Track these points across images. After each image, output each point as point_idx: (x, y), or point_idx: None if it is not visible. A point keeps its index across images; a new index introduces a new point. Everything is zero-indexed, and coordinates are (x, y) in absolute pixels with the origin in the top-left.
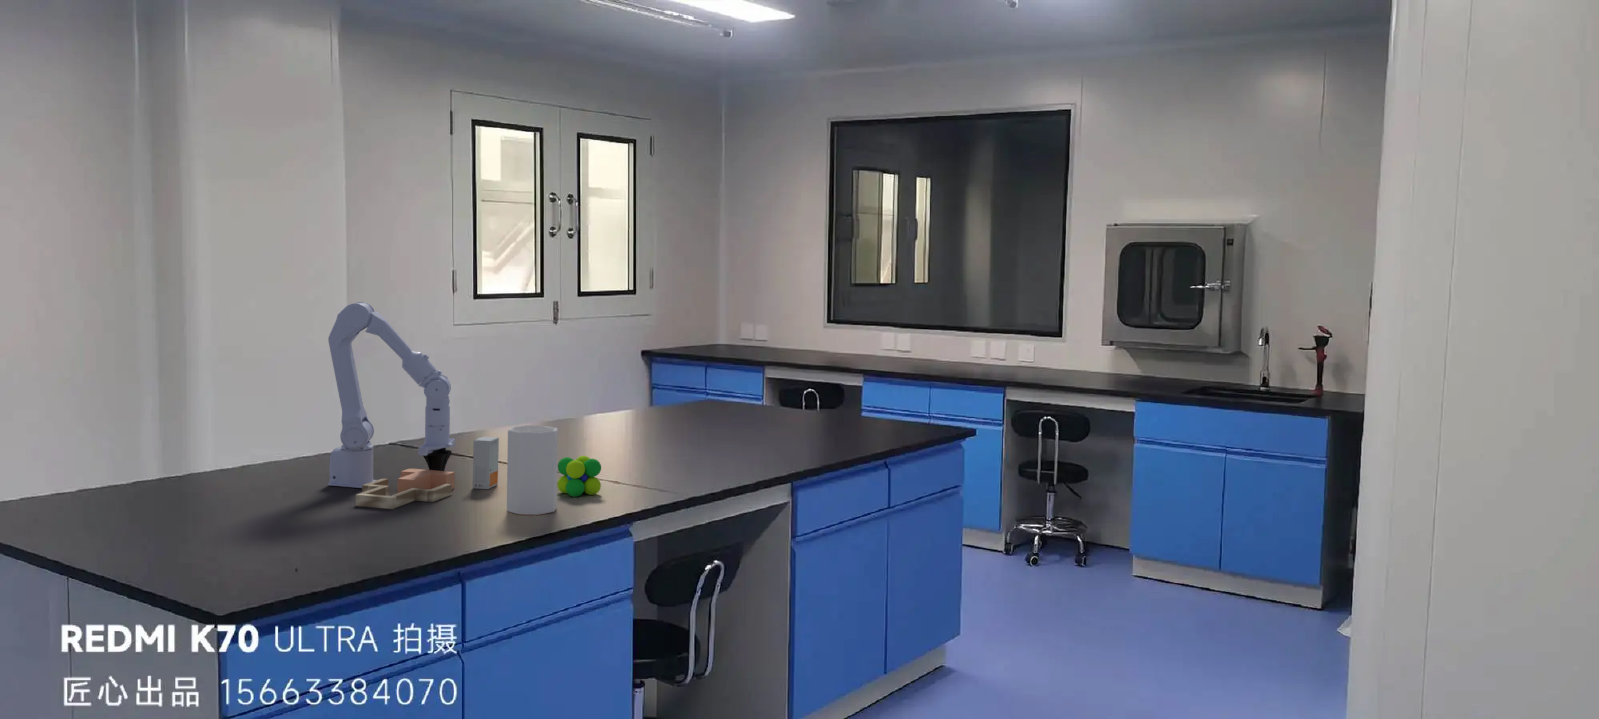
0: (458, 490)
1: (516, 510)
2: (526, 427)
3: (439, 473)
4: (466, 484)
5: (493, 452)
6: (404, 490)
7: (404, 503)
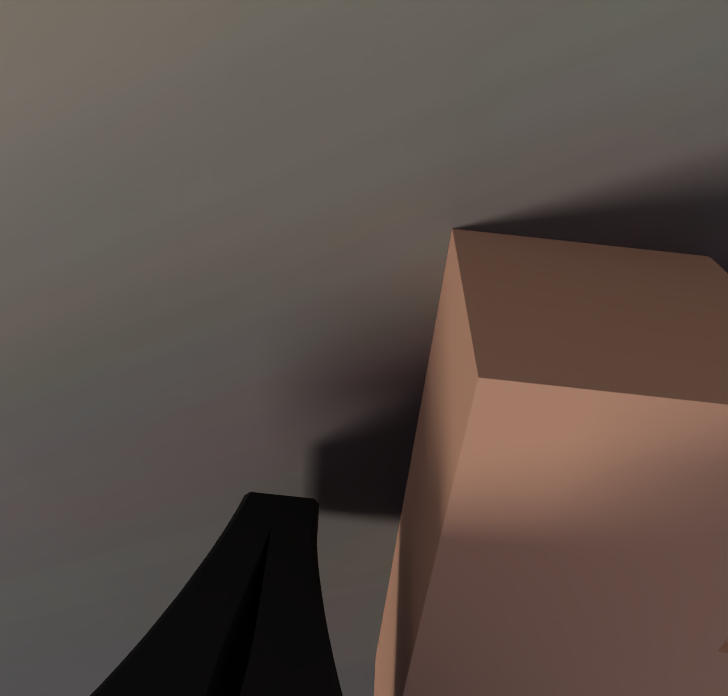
0: (629, 96)
1: None
2: None
3: (697, 564)
4: (130, 161)
5: None
6: None
7: None
